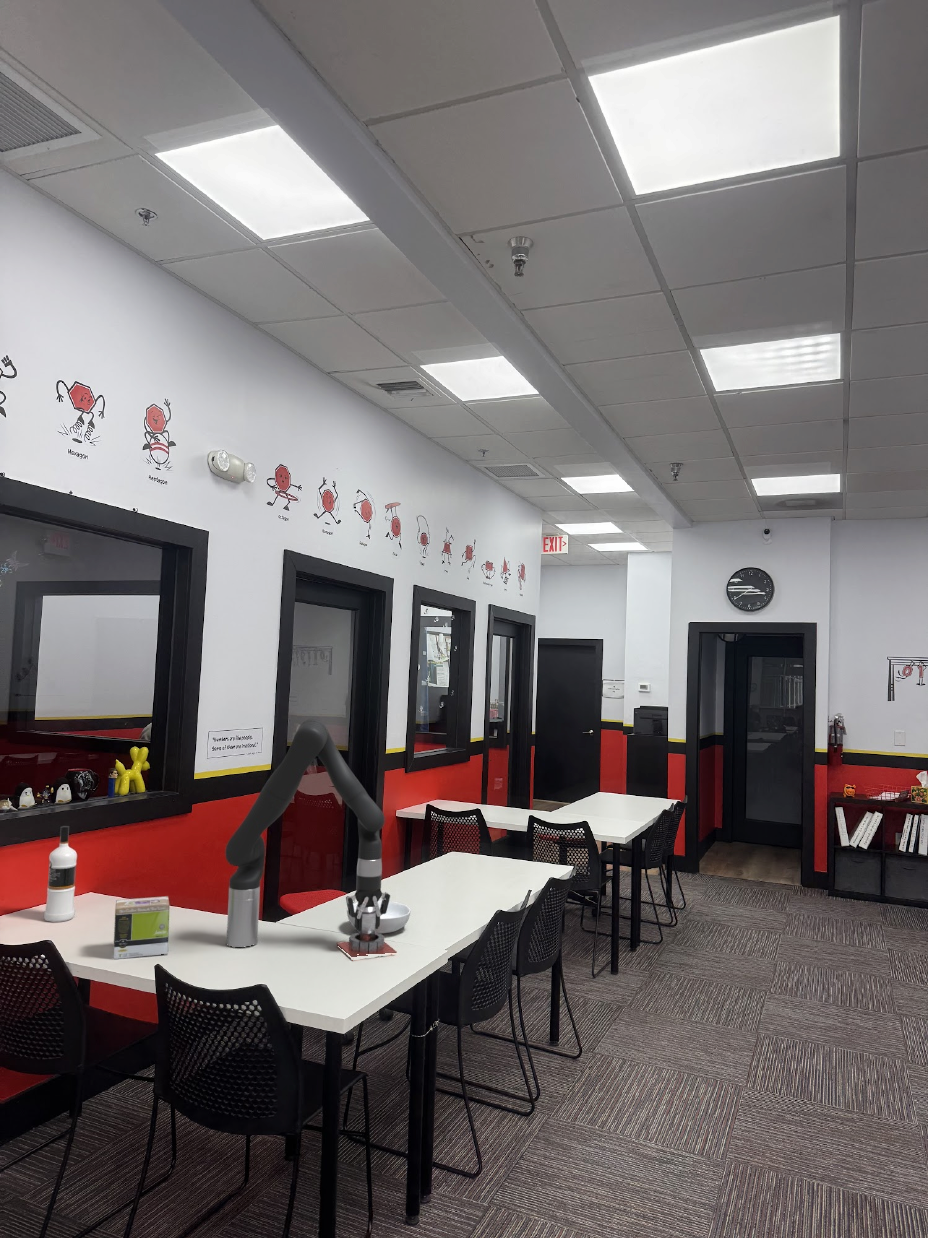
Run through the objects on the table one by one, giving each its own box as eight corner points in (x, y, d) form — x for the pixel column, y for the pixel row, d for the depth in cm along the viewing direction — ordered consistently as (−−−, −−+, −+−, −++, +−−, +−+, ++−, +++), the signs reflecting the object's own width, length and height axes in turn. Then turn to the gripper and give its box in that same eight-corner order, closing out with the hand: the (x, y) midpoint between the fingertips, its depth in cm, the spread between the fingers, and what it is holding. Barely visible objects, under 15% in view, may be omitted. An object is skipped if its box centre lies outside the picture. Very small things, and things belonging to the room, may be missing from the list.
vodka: (75, 921, 279) (81, 828, 281) (44, 924, 275) (49, 829, 276) (73, 913, 287) (79, 823, 289) (43, 916, 283) (48, 824, 285)
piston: (355, 937, 261) (357, 904, 262) (371, 935, 263) (372, 902, 264) (361, 942, 257) (363, 908, 257) (377, 940, 259) (379, 907, 259)
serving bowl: (379, 944, 266) (380, 922, 267) (332, 930, 279) (333, 908, 279) (422, 929, 283) (423, 908, 283) (376, 916, 296) (377, 896, 296)
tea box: (166, 945, 259) (169, 895, 260) (168, 955, 250) (170, 904, 251) (113, 949, 254) (116, 898, 255) (112, 960, 245) (115, 907, 245)
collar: (336, 946, 263) (337, 933, 263) (379, 941, 269) (379, 928, 270) (352, 961, 251) (353, 947, 251) (396, 955, 257) (397, 941, 257)
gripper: (386, 868, 268) (384, 923, 267) (342, 871, 261) (340, 928, 260) (395, 873, 261) (393, 930, 260) (351, 877, 255) (348, 936, 254)
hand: (366, 929), depth 260 cm, fingers closed on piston, 5 cm apart
